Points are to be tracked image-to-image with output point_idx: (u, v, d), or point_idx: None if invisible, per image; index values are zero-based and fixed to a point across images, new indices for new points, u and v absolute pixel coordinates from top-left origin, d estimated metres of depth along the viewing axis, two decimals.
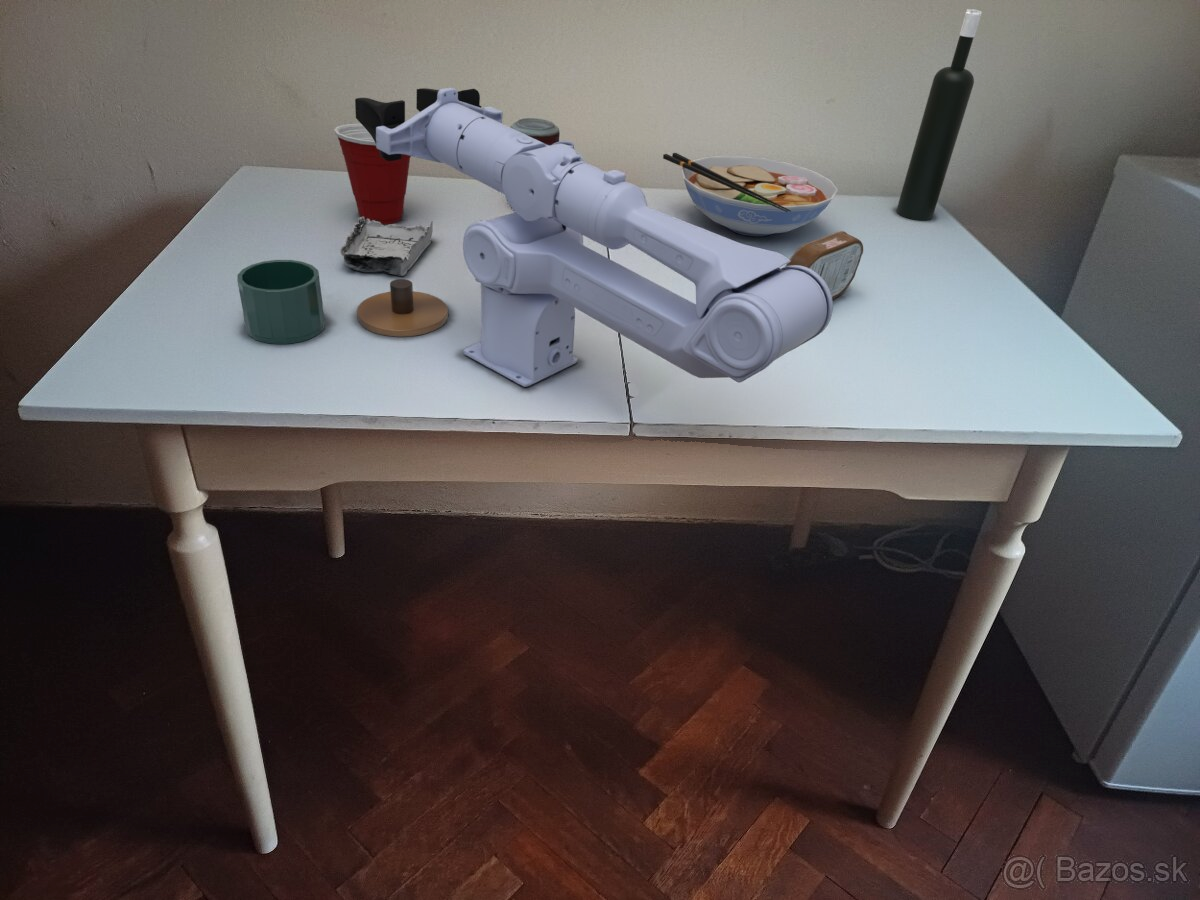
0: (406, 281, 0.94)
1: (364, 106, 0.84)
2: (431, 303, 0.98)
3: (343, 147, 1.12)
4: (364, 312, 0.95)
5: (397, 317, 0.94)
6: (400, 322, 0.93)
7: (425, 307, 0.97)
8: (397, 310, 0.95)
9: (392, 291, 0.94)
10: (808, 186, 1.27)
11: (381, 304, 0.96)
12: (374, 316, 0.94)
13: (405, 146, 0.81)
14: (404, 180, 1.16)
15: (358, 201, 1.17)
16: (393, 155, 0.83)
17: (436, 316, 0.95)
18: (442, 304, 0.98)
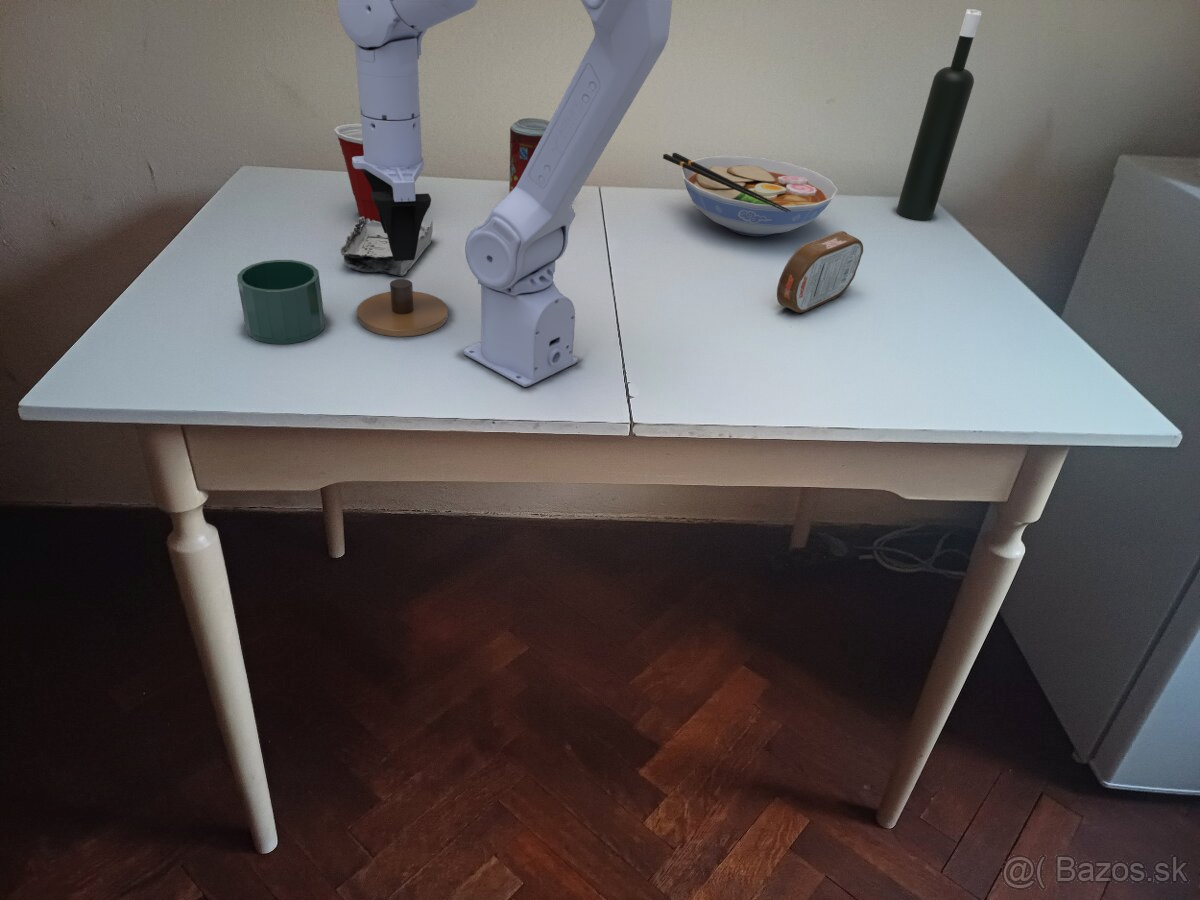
0: (406, 281, 0.94)
1: (396, 245, 0.87)
2: (431, 303, 0.98)
3: (343, 147, 1.12)
4: (364, 312, 0.95)
5: (397, 317, 0.94)
6: (400, 322, 0.93)
7: (425, 307, 0.97)
8: (397, 310, 0.95)
9: (392, 291, 0.94)
10: (808, 186, 1.27)
11: (381, 304, 0.96)
12: (374, 316, 0.94)
13: (408, 178, 0.83)
14: None
15: (358, 201, 1.17)
16: (424, 196, 0.84)
17: (436, 316, 0.95)
18: (442, 304, 0.98)
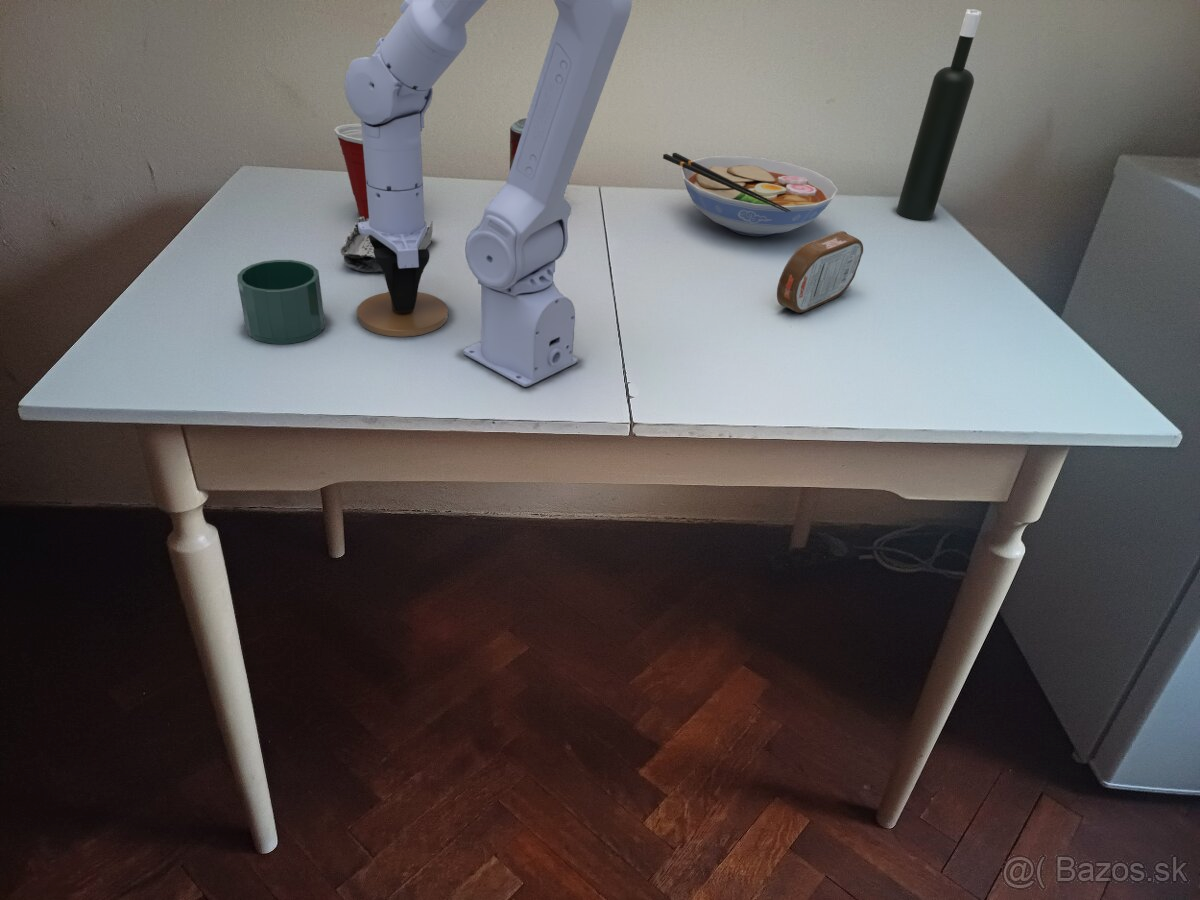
0: None
1: (397, 297, 0.93)
2: (431, 303, 0.98)
3: (343, 147, 1.12)
4: (363, 312, 0.95)
5: (397, 317, 0.94)
6: (400, 322, 0.93)
7: (425, 307, 0.97)
8: None
9: None
10: (808, 186, 1.27)
11: (381, 304, 0.96)
12: (374, 316, 0.94)
13: (412, 245, 0.87)
14: None
15: (358, 201, 1.17)
16: (423, 252, 0.90)
17: (436, 316, 0.95)
18: (442, 304, 0.98)
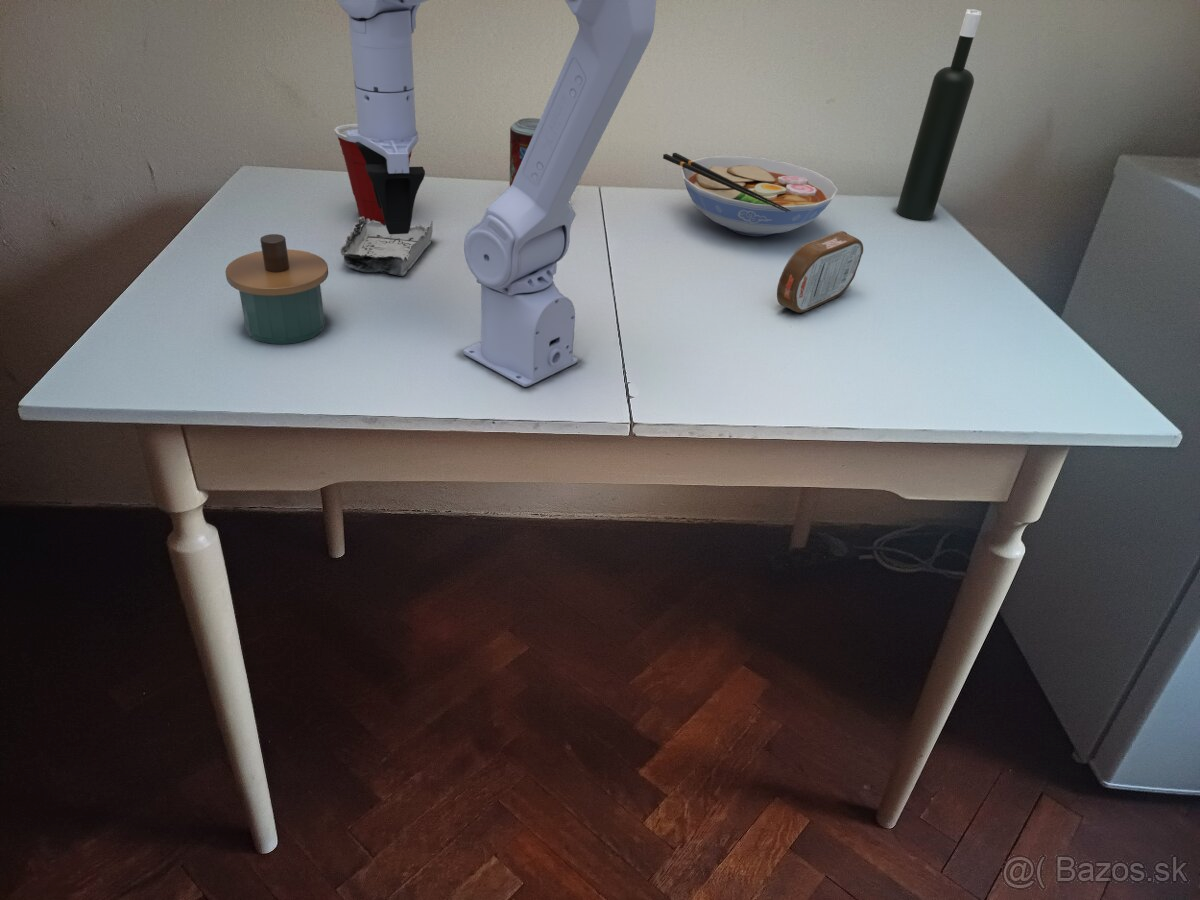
0: (279, 236, 0.87)
1: (390, 219, 0.87)
2: (310, 261, 0.90)
3: (343, 147, 1.12)
4: (233, 270, 0.87)
5: (269, 275, 0.87)
6: (270, 280, 0.86)
7: (303, 266, 0.89)
8: (269, 268, 0.87)
9: (262, 247, 0.86)
10: (808, 186, 1.27)
11: (255, 262, 0.89)
12: (243, 274, 0.86)
13: (402, 151, 0.83)
14: None
15: (358, 201, 1.17)
16: (418, 169, 0.85)
17: (312, 274, 0.88)
18: (322, 263, 0.90)
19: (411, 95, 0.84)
